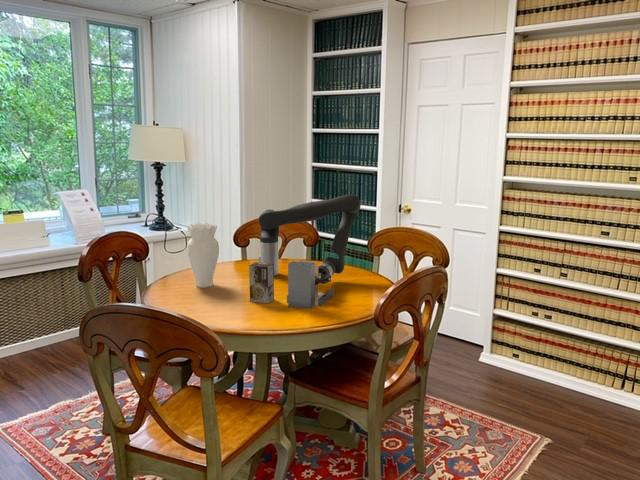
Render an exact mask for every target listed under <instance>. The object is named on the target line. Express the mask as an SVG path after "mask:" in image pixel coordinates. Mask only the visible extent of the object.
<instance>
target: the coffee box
mask: <svg viewBox="0 0 640 480" xmlns="http://www.w3.org/2000/svg"><path fill="white" fill-rule="evenodd" d="M248 273H249V274H248V278H249V279H248V281H249V302H253V303H254V302H255V303H263V304H264V303H265V304H270V303H271V302H273V301H274V300H275V276H274V264H271V263H259V261H258V262H257V261H255V262H253V263H251V264H249V265H248Z"/></svg>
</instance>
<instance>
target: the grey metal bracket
mask: <svg viewBox="0 0 640 480" xmlns="http://www.w3.org/2000/svg"><path fill="white" fill-rule="evenodd" d="M316 264H317V261H312V260H311V261H309V260H299V261H295V260H294V261H293V260H292V261H290V262H288V263H287V290H288V291H287V293H288V294H287V296H286V303H287V304H288V305H287V307H288V308H295V309H296V308H297V309H306V310H312V309H313V308H314V307H322V306H324V305H325V304H326V303H327V302H328V301H329V300H331V298H332V297H334V296H335V288H334V287H333V288H331V289H329V290H327V292H319V291H318V297H317V298H316V299H315V266H317V265H316Z"/></svg>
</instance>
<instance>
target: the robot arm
mask: <svg viewBox="0 0 640 480" xmlns="http://www.w3.org/2000/svg"><path fill="white" fill-rule="evenodd" d="M360 209H361V201H360V198H359V197H358V195H356V194H353V193H346V194H344V195H340V196H337V197H334V198H330V199H329V198H328V199H322V200H318V201H317V200H315V201H311V202H305V203H301V204H297V205H294V206H292V207H289V208H286V209H281V210H274V209H266V210H264V211H262V212H261V214H260V215H258V221H257V222H258V225H259V227H260V236H259V250H260V251H259V252H260V253H259V254H260V255H259V256H258V263H271V264H274V277H276V276H278V275H279V234H280V227H282V226H284V225H289V224H290V225H292V224H301V223H307V222H312V221H317V220H320V219H323V218H325V217H327V216H330V215H333V214H336V213H341V214H342V215H341V220H340V223H339V225H338V226H337V227H338V228H337V229H336V232H335V235H334V237H333V240H332V244H331V246H330V247H331V248H330V251H331V253H333V254H335V255H337V257H338V258H336V257H332V256H325V258H324V260H323V262H322V263H321V264H319V265H317V266H318V279H316V280H315V286H316V285H318V286H319V285H320V284H322V285H324V284H328V283H330V282H332V276H333V275H334V274H342V272H343V271H344V269H345V254H346V249H347V246H348V242H349V238H350V235H351V231H352V228H353V225H354V222H355V220H356V217H357V215H358V213H359V212H360Z"/></svg>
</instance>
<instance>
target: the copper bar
mask: <svg viewBox="0 0 640 480" xmlns="http://www.w3.org/2000/svg"><path fill="white" fill-rule="evenodd" d="M318 266H319V265H315V280H316V279H318ZM318 292H319V284H318V285H316V286H315V299H316V298H317V297H318Z"/></svg>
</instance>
